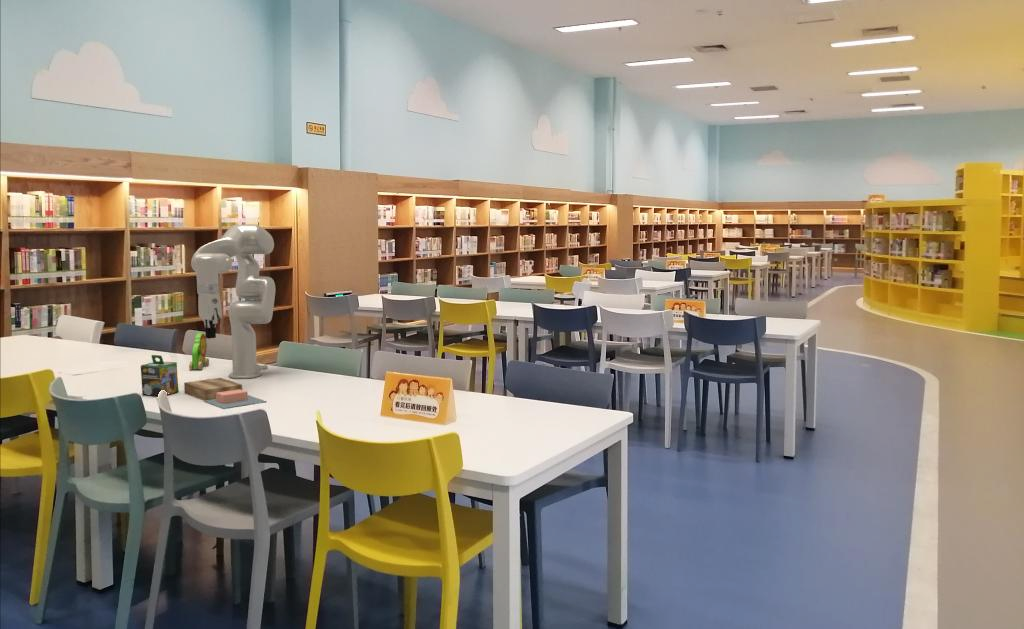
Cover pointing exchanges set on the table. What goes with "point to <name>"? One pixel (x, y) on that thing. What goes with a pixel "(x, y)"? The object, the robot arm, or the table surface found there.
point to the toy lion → (199, 353)
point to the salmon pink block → (231, 396)
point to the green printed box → (159, 377)
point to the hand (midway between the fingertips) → (210, 337)
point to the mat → (234, 404)
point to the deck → (210, 388)
